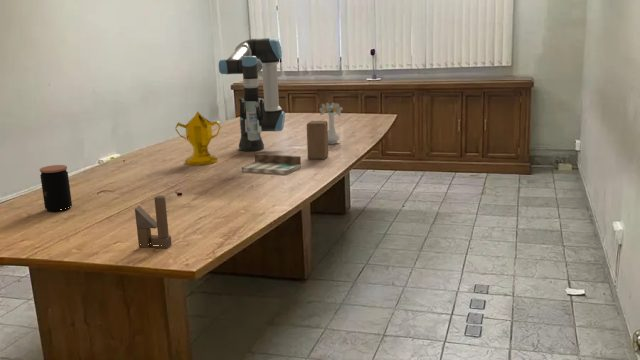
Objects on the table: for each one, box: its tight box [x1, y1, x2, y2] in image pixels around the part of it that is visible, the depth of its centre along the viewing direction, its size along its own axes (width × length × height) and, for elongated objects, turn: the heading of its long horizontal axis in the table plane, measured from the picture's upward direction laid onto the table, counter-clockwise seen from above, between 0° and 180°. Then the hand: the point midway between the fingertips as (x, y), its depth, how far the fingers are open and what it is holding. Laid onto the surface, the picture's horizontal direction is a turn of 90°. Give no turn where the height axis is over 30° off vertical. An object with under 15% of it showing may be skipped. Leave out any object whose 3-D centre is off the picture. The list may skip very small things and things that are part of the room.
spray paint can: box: [244, 101, 261, 141], centre depth 328 cm, size 6×6×20 cm
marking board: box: [241, 153, 302, 175], centre depth 330 cm, size 26×16×6 cm, turn 67°
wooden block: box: [306, 120, 329, 160], centre depth 353 cm, size 10×10×20 cm
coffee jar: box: [39, 164, 73, 213], centre depth 269 cm, size 11×11×18 cm
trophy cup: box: [175, 111, 222, 166], centre depth 350 cm, size 18×24×28 cm
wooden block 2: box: [134, 195, 172, 249], centre depth 219 cm, size 4×11×18 cm, turn 80°
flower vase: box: [318, 102, 344, 145], centre depth 393 cm, size 13×18×25 cm
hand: (253, 131), depth 330 cm, fingers closed on spray paint can, 6 cm apart
